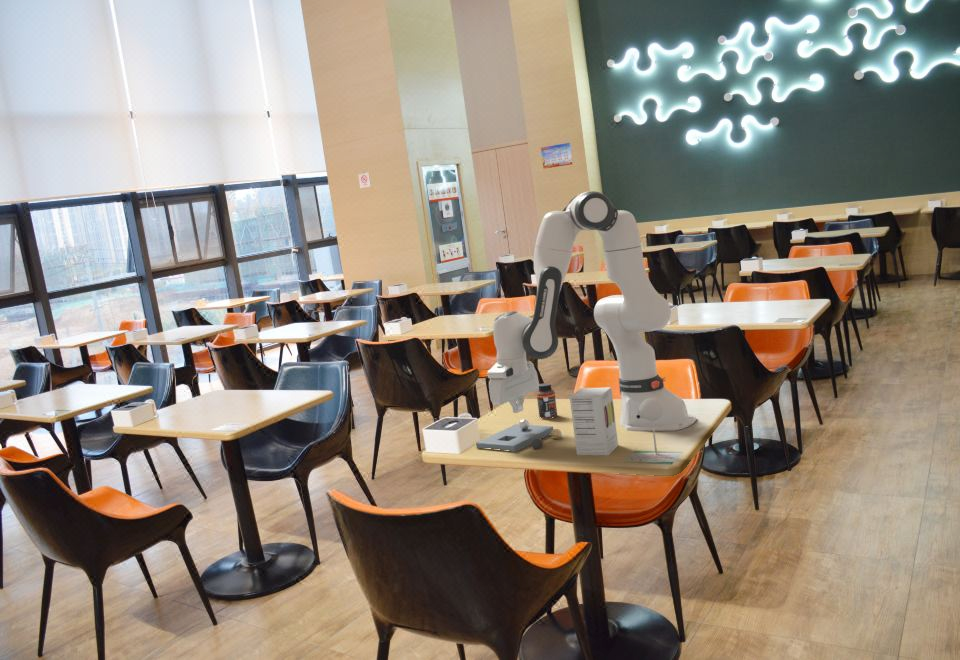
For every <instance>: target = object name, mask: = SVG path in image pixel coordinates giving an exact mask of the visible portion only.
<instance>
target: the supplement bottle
mask: <svg viewBox="0 0 960 660" xmlns="http://www.w3.org/2000/svg"><path fill="white" fill-rule="evenodd" d="M536 398H537V408H538V409H537V410H538V416H539V418H540V417H541V418H552V417H555V416H557V417H558V410H557V408H558V407H557V401H556V400H557V399H556V394H555V390H553V389H552V385H551V383H549V382H547V383H546V382H545V383H539V388H538V391H537V392H536ZM555 418H556V417H555ZM552 419H553V418H552Z"/></svg>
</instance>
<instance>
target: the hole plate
mask: <svg viewBox="0 0 960 660" xmlns="http://www.w3.org/2000/svg"><path fill="white" fill-rule="evenodd" d="M552 430H554V426H552V425H549V426H548V425H535V424H529V428H528V429H526V430H522V429H520V427H519V423H518V424H517V423H515V424H513V425H511V426H509V427H507V428H505V429H502V430H499V432H496V433H494V434H492V435H490V436H488V437H485V438H484V439H481V440H479V441H478V442H476V443H475V445H476V449H477V448H491V449H500V450H509V451H517V450H519V449H521V448H523V447H525V448H527V447H529V446H531V445H532V441H533V440H534V439H541V440H543V439H544V437H545V438H547V437H549V436H551V435H550V434H551V432H552ZM548 435H549V436H548ZM546 436H547V437H546ZM542 438H543V439H542ZM530 444H531V445H530ZM528 445H529V446H528ZM526 446H527V447H526ZM523 449H524V448H523ZM521 450H522V449H521ZM519 451H520V450H519ZM517 452H518V451H517Z"/></svg>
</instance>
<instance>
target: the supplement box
mask: <svg viewBox="0 0 960 660" xmlns="http://www.w3.org/2000/svg"><path fill="white" fill-rule="evenodd" d="M569 401H570V402H569V403H570V410H571V418H572V426H573V435H574V436H573V437H574V442H575V451H576V455H578V456H610V454H611V453H613V452H614V451H615V450H616V449H617V447H618V446H619V442H618V433H617V423H616V414H615V408H614V397H613V390H612V387H610V386H609V387H608V386H607V387H585V388H579V389H578V390H577V391H575V392H574V393H573V394H571V395H570V396H569Z"/></svg>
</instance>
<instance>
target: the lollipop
mask: <svg viewBox="0 0 960 660" xmlns="http://www.w3.org/2000/svg"><path fill="white" fill-rule="evenodd" d="M639 411H640V413H641V415H642V417H643V418H644V419H646V420H648V421H652V428H653V431H652V437H653V444H654V445H653V447H654V453H655V455H657V454H658V448H657V441H656V439H657V438H656V431H655V430H654V421H655V420H657V419H659V418H660V417H661V415H662V413H663V406H662V404H661V403H660V402H659V401H658V400H657V399H654V398H648V399H646V400H644V401H643V402H642V403H641V405H640V408H639Z"/></svg>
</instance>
